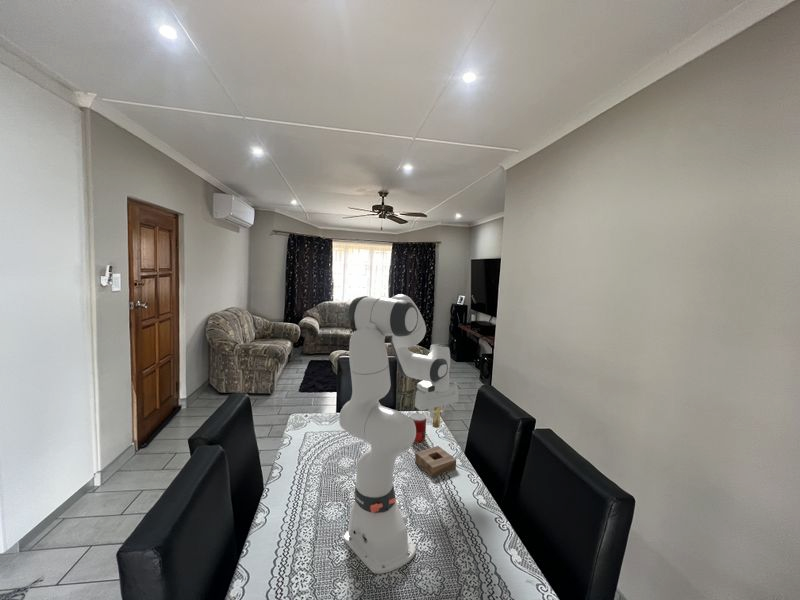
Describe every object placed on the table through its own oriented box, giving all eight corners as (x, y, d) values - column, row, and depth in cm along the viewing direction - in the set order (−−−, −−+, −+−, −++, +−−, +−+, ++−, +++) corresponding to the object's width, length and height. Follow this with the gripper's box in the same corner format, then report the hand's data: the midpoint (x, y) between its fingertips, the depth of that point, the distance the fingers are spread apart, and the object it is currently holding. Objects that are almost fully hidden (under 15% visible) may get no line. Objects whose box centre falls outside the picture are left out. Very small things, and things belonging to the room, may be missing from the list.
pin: (441, 427, 135) (442, 403, 134) (435, 428, 133) (436, 404, 133) (437, 424, 137) (438, 400, 137) (431, 425, 136) (432, 401, 135)
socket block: (455, 468, 135) (456, 459, 134) (432, 477, 128) (432, 467, 128) (437, 454, 145) (438, 445, 144) (415, 461, 138) (415, 452, 138)
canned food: (425, 442, 154) (426, 420, 154) (408, 442, 155) (409, 419, 154) (424, 434, 162) (425, 413, 161) (408, 434, 162) (409, 412, 161)
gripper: (452, 377, 142) (451, 408, 143) (413, 384, 131) (412, 418, 132) (462, 381, 137) (460, 414, 138) (422, 389, 126) (421, 424, 127)
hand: (436, 416), depth 135 cm, fingers closed on pin, 3 cm apart
